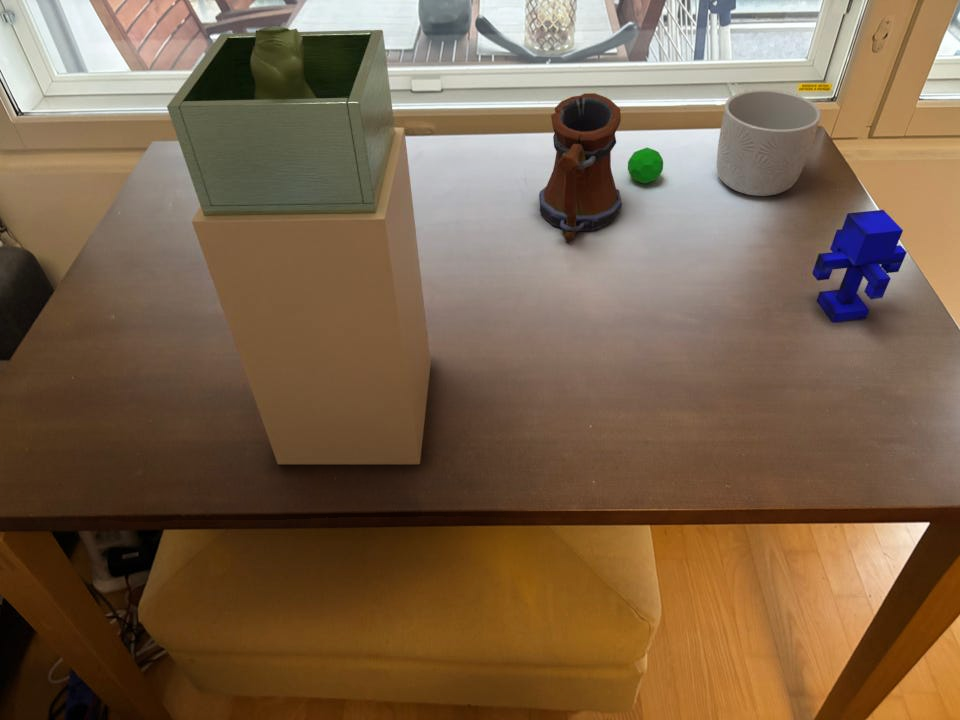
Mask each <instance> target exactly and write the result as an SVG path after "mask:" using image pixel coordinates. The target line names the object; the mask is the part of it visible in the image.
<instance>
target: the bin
mask: <svg viewBox="0 0 960 720" xmlns="http://www.w3.org/2000/svg"><path fill="white" fill-rule="evenodd" d="M298 32H299V34H300V36H301V37H303V45H304V78H305V81H306V83H307V85H308V86H309V88H310V89H311V91H312V92H313V94H314V95H315V96H316V98H317V99H271V100H254V95H255V88H256V85H255V80H254V77H253V74H252V71H251V65H250V60H251V55H252V52H253V47H254V45H255V42H256V37H255V33H256V32H241V33H240V32H239V33H235V32H234V33H220V34H219V35H218V36H217V38H216V39H215V40H214V42H213V44H212V45H211V46H210V47H209V49H208V50H207V51H206V53H205V54H204V56H203V57H202V58H201V60H200V61H199V62H198V64H197V65H196V66H195V68H194V69H193V70H192V72H191V73H190V74H189V76H188V77H187V79H186V80H185V81H184V83H183V84H182V85H181V87H180V88H179V89H178V91H177V92H176V94H175V95H174V96H173V97H172V99H171V100H170V102H169V103H168V104H167V105H166V109H167V112H168V114H169V118H170V119H171V123H172V126H173V129H174V132H175V134H176V138H177V141H178V144H179V147H180V149H181V152H182V155H183V159H184V161H185V164H186V167H187V170H188V174H189V176H190V179H191V182H192V185H193V188H194V191H195V195H196V197H197V200H198V203H199V207H198V209H197V211H196V213H195V215H194V217H193V218H192V220H191V224H192V226H193V229H194V233H195V235H196V238H197V240H198V243H199V247H200V249H201V252H202V255H203V257H204V260H205V263H206V266H207V268H208V272H209V274H210V277H211V280H212V283H213V285H214V289H215V291H216V295H217V297H218V299H219V302H220V306H221V308H222V311H223V314H224V317H225V319H226V322H227V325H228V328H229V330H230V333H231V336H232V339H233V342H234V345H235V348H236V350H237V351H236V352H237V353H238V355H239V359H240V362H241V365H242V368H243V370H244V373H245V375H246V378H247V382H248V385H249V387H250V390H251V393H252V395H253V399H254V401H255V404H256V407H257V411H258V412H259V416H260V418H261V420H262V424H263V427H264V429H265V433H266V435H267V438H268V441H269V443H270V446H271V450H272V452H273V455H274V458H275V460H276V463H277V465H421V457H422V450H423V449H422V447H423V439H424V431H425V429H424V428H425V420H426V411H427V400H428V392H429V383H430V373H431V355H430V347H429V337H428V328H427V319H426V311H425V301H424V291H423V283H422V275H421V266H420V257H419V249H418V239H417V230H416V220H415V212H414V203H413V195H412V194H413V192H412V185H411V176H410V166H409V159H408V151H407V150H408V148H407V140H406V130H405V127H401V126H400V127H396V126H395V119H394V118H395V117H394V111H393V103H392V94H391V86H390V78H389V68H388V62H387V53H386V46H385V36H384V31H383V30H382V29H361V30H360V29H358V30H357V29H356V30H319V31H318V30H317V31H316V30H315V31H298Z"/></svg>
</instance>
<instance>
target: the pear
mask: <svg viewBox="0 0 960 720" xmlns="http://www.w3.org/2000/svg"><path fill="white" fill-rule="evenodd" d="M299 32H300V31H299V30H298V28H292V29H290V28H288V27H284V26H279V25H270V26H266V27H263V28H259V29H256V30H255V32H254V33H255V37H256V42H255V45H254V47H253V52H252V55H251V60H250V65H251V71H252V74H253V77H254V80H255V85H256V88H255V95H254V100H271V99H317V98H316V96H315V95H314V94H313V92H312V91H311V89H310V88H309V86H308V85H307V83H306V81H305V78H304V45H303V37H301V36H300V34H299Z"/></svg>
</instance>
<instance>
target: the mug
mask: <svg viewBox="0 0 960 720" xmlns="http://www.w3.org/2000/svg"><path fill="white" fill-rule="evenodd" d="M554 111H555V112H554V113H552V114H550V118H551V125H552V129H553V132H554V133H553V136H552V139H553V140H552V141H553V148H554V150H555V151H556V153H555V159H554V164H553V169H552V173H551V175H550V176H549V179H548V181H547V184H546V186H545V187H543V188H542V189H541V190H540V191H539V194H538V200H539V210H540V211H539V212H540V215H541V217H543V218H544V219H545V220H546V221H547V222H548V223H550V225H552V226H554V227H558V228H561V229H563V230H564V231H565V233H564V240H565V241H567V242H571V241H572V240H573V239H574V237H575V235H576V234H577V232H578V231H581V232H582V231H583V232H584V231H596V230H598V229H600V228H602V227H605V226H607V225H609V224H610V223H612V222H613V220H614V219H615V217H616V216H617V214H618V213H619V212H620V211H621V209H622V206H623V203H622V197H621V194H620V193H621V192H620V190H619V189H618V188H617V186H616V183H615V180H614V179H615V178H614V175H613V171H612V166H611V165H612V164H611V163H612V162H611V161H612V156H611V153H612V151H613V149H614V147H615V146H616V144H617V139H616V133H617V130H618V128H619V127H620V124H621V121H622V118H621V108H620V107H619V106H618V105H617V104H615V102H614V101H612V100H611V99H610V98H608V97H606V96H604V95H601V94H598V93H595V92H594V93H593V92H591V93H587V92H586V93H583V94H581V95H574V96H571V97H568V98H566V99H564V100H561V101H560V102H559V103H558V104H557V106H555V108H554Z"/></svg>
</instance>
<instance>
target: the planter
mask: <svg viewBox="0 0 960 720" xmlns="http://www.w3.org/2000/svg"><path fill="white" fill-rule="evenodd" d="M821 118H822V113H821V110H820V108H819V107H818V106H817V105H816V104H815V103H813V102H812V101H811V100H809V99H807V98H805V97H803V96H801V95H798V94H794V93H791V92H787V91H782V90H776V89H775V90H774V89H754V90H746V91H742V92H739V93H737V94H736V93H735V94H734V95H732V96H731V97H729V98H728V99H727V100H726V101H725V103H724V107H723V113H722V119H721V126H720V129H719V130H720V131H719V136H718V143H717V152H716V171H717V174H718V177H719V178H720V180H721V181H722V182H723V183H724V185H726V186H727V187H729V188H730V189H732V190H734V191H736V192H739V193H740V194H744V195H749V196H756V197H767V196H773V195H778V194H781V193H784V192H785V191H787V190H789V189H790V188H792V187H793V186H794V185H795V183H796V182H797V181H798V180H799V178H800V175H802V174H801V173H802V171H803V169H804V166H805V164H806V161H807V159H808V157H809V153H810V151H811V148H812V146H813V145H812V144H813V143H814V139H815V136H816V132H817V130H818V127H819V124H820V122H821Z"/></svg>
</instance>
